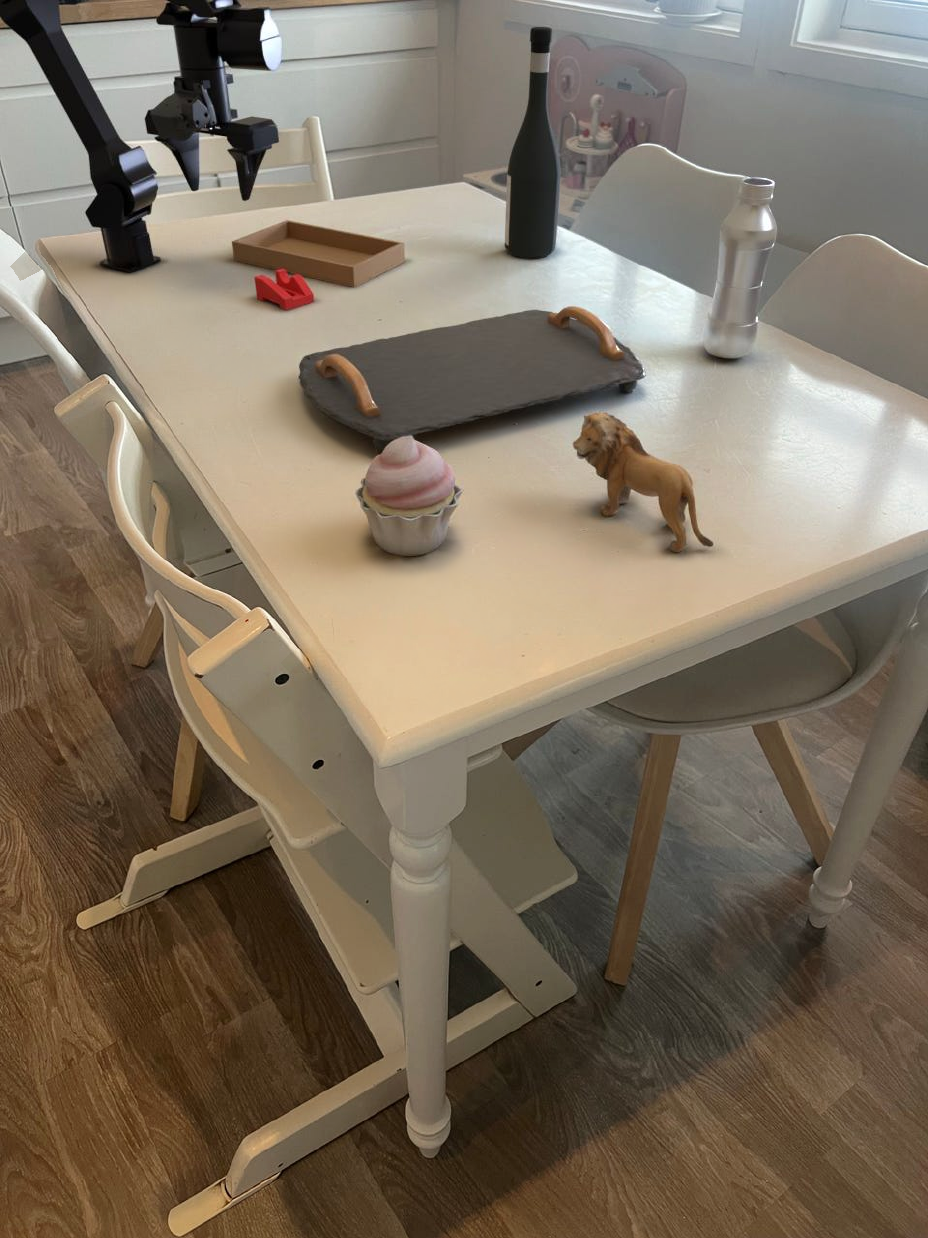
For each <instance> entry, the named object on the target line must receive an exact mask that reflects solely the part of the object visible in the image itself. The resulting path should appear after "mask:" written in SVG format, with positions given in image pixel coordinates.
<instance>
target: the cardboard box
mask: <svg viewBox="0 0 928 1238" xmlns="http://www.w3.org/2000/svg"><path fill="white" fill-rule="evenodd" d="M231 247H232V253H233V255H232V256H233V261H235V262H238V263H239V262H240V263H244V264H247V265H248V264H249V265H252V266H258V267H262V268H266V269H272V270H274V271H276V270H279V269H285V270H287V274H292V275H295V274H298V275H301V276H302V277H306V278H311V279H316V280H320V281H324V282H325V281H326V282H329V283H334V284H339V285H342V286H346V287H351V288H355V287H358V286H359V285H361V284H364V283H366V282H368V281H370V280H372V279H373V278H376V277H377V276H380V275H381V274H384V273H385V272H388V271H390V270H392V269H394V268H396V267H397V266H399V265H401V264H403V263H405V262H406V258H405V254H406V253H405V242H401V241H397V240H390V239H386V238H381V237H376V236H370V235H365V234H359V233H355V232H351V231H345V230H340V229H335V228H331V227H325V226H319V225H314V224H309V223H304V222H299V221H294V220H288V219H286V220H284V221H281V222H279V223H276V224H273V225H271V226H268V227H265V228H263V229H261V230H258V231H255V232H253V233H250V234H247V235H245V236H243V237H240V238H238V239H235V240H232V241H231Z"/></svg>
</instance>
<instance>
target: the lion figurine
mask: <svg viewBox="0 0 928 1238" xmlns="http://www.w3.org/2000/svg"><path fill="white" fill-rule="evenodd" d="M583 419H584V420H583V424H582V426H581V432H580V435H579V437H578V438H577V439H575V440H574V441H573V442H572V447H573V449H574V450H575V451H576V457H577V458H578V459H579V460H584V459H585V460H586V462H587V464H589V465H590V466H592V467H593V468H595V474H596V475H597V476H598V477H599V478H602V479H603V480H604V481H606V490H607V497H608V500H609V501H608V503H609V505H604V506H602V507H601V513H602V515H603V516H609V517H610V516H613V515H615V514H617V513H618V511H619V509H620V504H626V503H627V502H629V500H630V495H631V491H632V490H633V491H634V492H636V493H638V494H640V495H641V496H644V497H649V498H650V497H651V498H653V497H654V498H655V497H656V498H657V497H658V498H657V499H658V500H657V501H658V505H659V509H660V512H661V514H662V518H663V519H664V521H665V522H666V524H667V526H668V527H669V528H670V529H671V531H672V533H673V534H674V536H675V540H674V539H673V540H671V541H670V544H669V549H670V550H671V551H672V552H675V553H679V552H681V551H683V550H684V549H685V547H686V545H687V533H686V532H687V531H686V527H685V526H684V523H685V522H686V519H687V518H686V513H685V512H686V508H687V507H688V514H689V518H690V524H691V529H692V531H693V534H694V535H695V537H696V539H697V540H698V542H699V543H700V544H701V545H702V546H704V547H708V548H712V547H713V546H714V542H713V541H712V540H710V539H709V538H708V537H707V536H705V535H704V534H702V533H701V531H700V529H699V525H698V520H697V513H696V512H697V509H696V498H695V494H694V487H693V486H694V483H693V482H694V481H693V479H692V476H691V475H690V473H689V472H688V471H687V470H686V468H685V467H683V466H681V465H680V464H677V463H672V462H667V461H665V460H662V459H660V458H657V457H655V456H653V455H652V454H650V453H648V452H647V451H646V450H645V449H644V447H643V445H642V443H641V440H640V438H639V437H638V436H637V434H636V433H635V432H634V430H632V429H630V428H629V427H628V425H627V424H626V423H624V422H622V421H621V419H619V418H616V417H615V416H614V414H613V415H612V414H609V413H607V412H603V411H595V412H593V413H588V414H585V415H583Z"/></svg>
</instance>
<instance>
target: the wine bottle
mask: <svg viewBox="0 0 928 1238" xmlns="http://www.w3.org/2000/svg"><path fill="white" fill-rule="evenodd" d="M529 42H530V57H529V58H530V60H529V61H530V63H529V85H528V99H527V106H526V110H525V115H524V117H523V120H522V123H521V126H520V129H519V131H518V134H517V136H516V138H515V141H514V144H513V146H512V149H511V152H510V156H509V161H508V167H507V171H506V196H505V225H504V248H505V249H506V251H507V252H508V253H509V254H511V255H513V256H515V257H519V258H523V259H538V258H544V257H547V256H549V255H551V254H552V253H553V252H554V251H555V249H556V247H557V246H556V245H557V235H558V233H557V232H558V218H559V203H560V189H561V176H562V173H561V159H560V153H559V148H558V145H557V144H558V143H557V142H556V138H555V134H554V131H553V128H552V124H551V119H550V115H549V114H550V113H549V106H548V89H549V71H550V68H549V67H550V58H551V56H550V55H551V45H552V44H551V43H553V28H552V27H548V26H533V27H531V28H530V32H529Z"/></svg>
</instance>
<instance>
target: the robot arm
mask: <svg viewBox="0 0 928 1238" xmlns="http://www.w3.org/2000/svg"><path fill="white" fill-rule="evenodd" d="M166 1H167V2H166V3H165V6H164V9H163V10H162V11H161V12H160V14H159V15H158V16H157V17H156V19H155V22H156V24H157V25H159V26H172V27H173V33H174V40H175V47H176V53H177V60H178V67H179V72H180V75H177V76H174V77H173V78H174V79H173V93H172V94H171V95H168V96H166V97H165V98H164V99H163V100H162V101H160V102H159V103H158V104H157V105H156V106H155V107H154V108H151V109H148V110H147V112H146V114H145V117H144V123H145V129H146V134H148V135H153V136H154V139H155V141H156V142H157V143H158V142H159V143H161V144H162V145H163V146H164V147H166V148H167V149H169V150H170V152H171V153H172V155H173V157H174V159H175V161H176V162H177V164H178V166H179V168H180V170H181V172H182V174H183V176H184V178H185V180H186V183H187V185H188V187H189V189H190V191H192V192H197V191H199V188H200V134H206V135H212V136H219V137H225V138H226V141H227V142H228V143H229V145H230V146H231V147H232V148H228V149H227V153H228V154H229V155H230V156H231V157H232V159H233V160H234V162H235V167H236V169H235V170H236V174H237V175H236V176H237V182H238V188H239V192H240V197H241V200H242V201H243V202H246V201H249V200H250V198H251V196H252V192H253V189H254V185H255V183H256V179H257V177H258V173H259V170H260V168H261V164H262V163H263V160H264V157H265V154H266V153H267V150H271V149H272V148H273V145H275V144H278V143H280V139H279V129H278V125H277V124H276V123H275V121H274V120H273V118H266V117H265V118H264V117H259V116H252V115H251V116H248V117H244V118H239V115H238V109H237V108H231V105H230V103H231V102H230V96H229V95H230V94H229V87H228V85H230V84H234V83H235V81H234V75H233V74H232V73H227V72H226V64H227V66H228V67H230V68H231V69H234V70H248V71H249V70H250V71H266V72H275V71H277V70H278V69H279V68H280V64H281V62H282V56H283V40H282V36H281V35H280V32H279V31H280V30H279V27H278V25H277V24H276V22H275V20H274V19H273V18H272V12H271V11H272V10H271V8H270V7H269V6H257V7H243V6H242V4H241V2H240V1H239V0H166ZM183 7H185V8H186V9H185V8H183ZM214 18H215V19H214ZM0 20H1V21H2V22H3V24H5V25H6V26H7V27H8V28H10V29H11V30H12V31H13V32H14V33H15V34H16V35H18V36H19V37H20V38H21V39H22V40H23V41H24V42H25V43H26V44H27V45H28V48H29V49H30V51H31V53H32V55H33V56H34V58H35V60H36V62H37V64H38V65H39V67H40V69H41V70H42V73H43V75H44V76H45V78H46V80H47V82H48V83H49V85H50V87H51V89H52V90H53V93H54V94H55V96H56V98H57V99H58V101H59V103H60V105H61V107H62V108H63V109H62V110H63V111H64V112H65V114H66V116H67V118H68V120H69V122H70V123H71V125H72V127H73V129H74V130H75V132H76V134H77V136H78V138H79V140H80V142H81V143H82V145H83V147H84V148H85V150H86V153H87V156H88V165H89V176H90V177H89V178H90V180H91V183H92V185H93V188H94V190H95V192H96V195H95V197H94V198H93V200H92V201H91V202H90V203H89V205H88V207H87V208H86V210H85V211H84V214H85V216H86V218H87V220H88V222H89V225H90V226H91V227H92V228H96V229H97V228H98V229H100V232H101V237H102V242H103V246H104V251H105V256H106V258H105V259H102V260H100V261H99V266H101V267H105V268H111V269H113V270H117V271H122V272H126V273H133V272H136V271H139V270H142V269H144V268H147V267H149V266H151V265H154V264H157V263H160V262H161V261H162V259H161V257H160V256H157V255H154V253H153V252H154V251H153V247H152V242H151V235H150V233H149V231H148V227H147V221H146V220H144V219H143V218H144V217H147V216H150V215H151V214H152V211H153V210H152V209H153V204H154V202H155V200H156V199H157V197H158V196H157V195H158V190H159V186H158V181H157V179H156V177H155V176H157V174H158V173H157V171H156V170H155V169H154V168H153V167H152V165H151V163H150V162H149V160H148V157H147V154H146V152H145V150H144V148H143V147H142V146H141V145H137V146H135V147H133V148H132V147H131V146H129V144H128V143H126V142H125V141H123V140H122V138H121V137H120V135H119V134H118V132H117V129H116V128H115V125H114V124H113V122H112V120H111V118H110V117H109V115H108V113H107V111H106V109H105V107H104V105H103V104H102V101H101V100H100V98H99V96H98V93H97V92H96V91H95V90H96V89H94V86H93V84H92V83H91V81H90V79H89V78H88V75H87V74H86V72H85V70H84V68H83V65H82V64H81V62H80V60H79V59H78V57H77V54H76V53H75V51H74V49H73V47H72V45H71V43H70V41H69V39H68V37H67V35H66V34H65V32H64V30H63V27H62V23H61V13H60V2H59V0H0ZM235 119H236V120H235Z"/></svg>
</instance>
